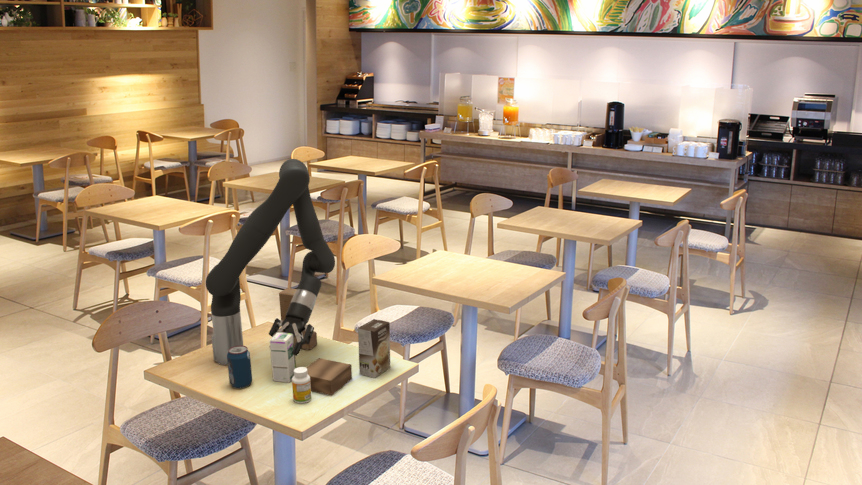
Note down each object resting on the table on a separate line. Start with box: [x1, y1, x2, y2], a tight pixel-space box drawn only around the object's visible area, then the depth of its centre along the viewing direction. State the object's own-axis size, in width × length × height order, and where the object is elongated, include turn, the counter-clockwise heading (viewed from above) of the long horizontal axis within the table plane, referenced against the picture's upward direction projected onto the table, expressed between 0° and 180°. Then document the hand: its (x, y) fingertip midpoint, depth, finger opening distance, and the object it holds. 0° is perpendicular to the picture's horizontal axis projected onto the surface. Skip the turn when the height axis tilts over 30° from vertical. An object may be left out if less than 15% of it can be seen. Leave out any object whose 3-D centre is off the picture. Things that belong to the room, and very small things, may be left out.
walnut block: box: [305, 357, 353, 397], centre depth 225 cm, size 12×12×5 cm
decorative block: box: [278, 287, 318, 351], centre depth 251 cm, size 11×6×20 cm, turn 68°
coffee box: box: [357, 318, 391, 379], centre depth 232 cm, size 9×6×16 cm
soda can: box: [227, 345, 253, 389], centre depth 224 cm, size 7×7×12 cm
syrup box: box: [268, 333, 297, 383], centre depth 228 cm, size 6×6×14 cm
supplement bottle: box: [291, 366, 312, 404], centre depth 215 cm, size 5×5×10 cm
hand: (283, 352), depth 227 cm, fingers open, 8 cm apart
